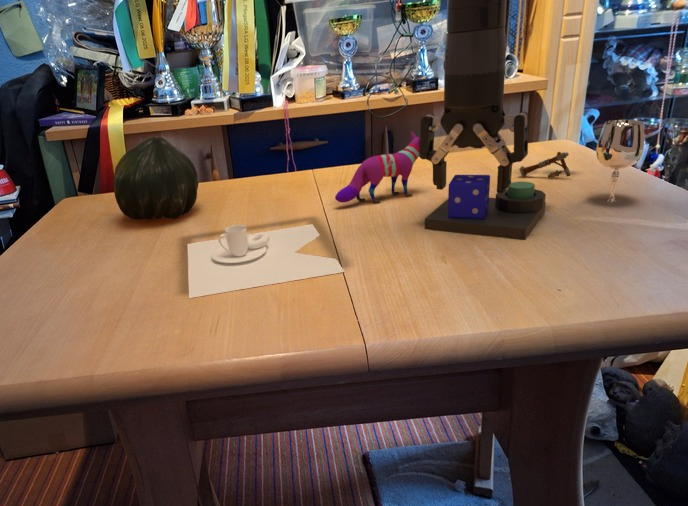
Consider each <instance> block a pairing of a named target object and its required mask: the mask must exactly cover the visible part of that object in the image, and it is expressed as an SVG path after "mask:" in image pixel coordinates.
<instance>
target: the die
mask: <svg viewBox="0 0 688 506" xmlns="http://www.w3.org/2000/svg"><path fill="white" fill-rule="evenodd" d="M490 187H491V175H490V174H455V175H454V176H453V177H452V179H451V180H450V182H449V184H448V190H447V191H448V194H447V195H448V196H447V199H448V217H449V218H469V219H484V217H485V215H486V212H487V210H488V206H489V198H490V189H491V188H490Z"/></svg>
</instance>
